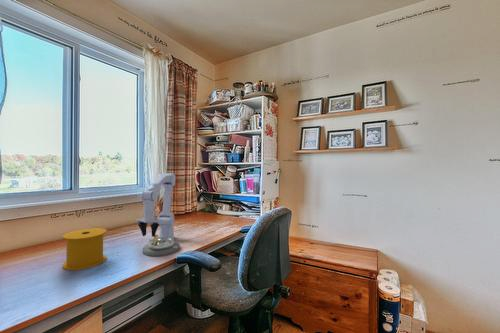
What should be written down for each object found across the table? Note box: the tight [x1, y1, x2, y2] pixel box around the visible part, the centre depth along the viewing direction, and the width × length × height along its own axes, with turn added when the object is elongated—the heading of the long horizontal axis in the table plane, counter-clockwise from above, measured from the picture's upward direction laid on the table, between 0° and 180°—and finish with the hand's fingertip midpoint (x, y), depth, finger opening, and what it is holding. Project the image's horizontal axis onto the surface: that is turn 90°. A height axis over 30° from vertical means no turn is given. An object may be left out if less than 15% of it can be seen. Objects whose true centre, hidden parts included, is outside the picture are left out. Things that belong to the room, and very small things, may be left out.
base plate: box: [141, 241, 180, 258], centre depth 134 cm, size 20×20×2 cm
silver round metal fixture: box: [147, 234, 175, 250], centre depth 134 cm, size 14×14×8 cm
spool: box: [61, 227, 108, 271], centre depth 116 cm, size 18×18×15 cm
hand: (148, 236), depth 130 cm, fingers open, 5 cm apart
